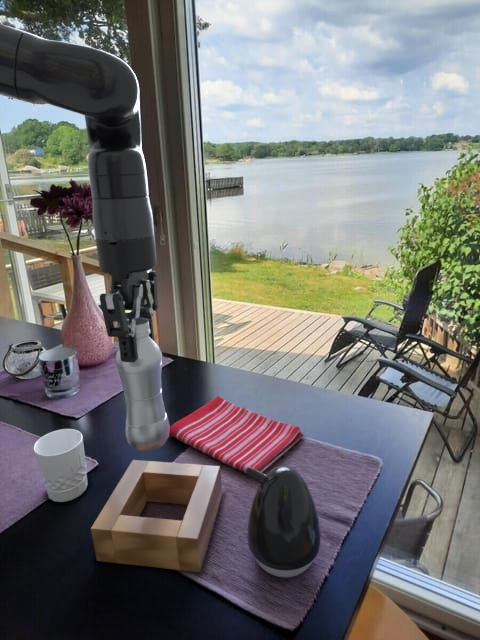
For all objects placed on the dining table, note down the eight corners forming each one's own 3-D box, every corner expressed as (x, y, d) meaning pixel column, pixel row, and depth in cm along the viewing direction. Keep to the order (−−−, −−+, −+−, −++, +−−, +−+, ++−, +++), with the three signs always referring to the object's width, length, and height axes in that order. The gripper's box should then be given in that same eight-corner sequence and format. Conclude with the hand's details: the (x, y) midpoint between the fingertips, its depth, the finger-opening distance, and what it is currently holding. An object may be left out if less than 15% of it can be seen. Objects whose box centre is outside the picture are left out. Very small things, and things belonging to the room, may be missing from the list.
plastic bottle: (178, 446, 67) (167, 322, 61) (136, 462, 64) (119, 333, 57) (160, 427, 72) (149, 311, 66) (120, 441, 69) (104, 320, 62)
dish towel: (219, 403, 105) (218, 393, 105) (304, 436, 91) (305, 425, 90) (165, 437, 93) (164, 426, 92) (255, 481, 79) (254, 469, 78)
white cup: (70, 509, 74) (60, 459, 71) (34, 499, 77) (22, 450, 73) (100, 479, 81) (92, 432, 78) (65, 471, 84) (56, 425, 80)
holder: (96, 561, 64) (90, 528, 62) (136, 487, 78) (132, 459, 76) (200, 572, 61) (197, 539, 59) (222, 495, 76) (220, 465, 74)
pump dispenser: (261, 523, 69) (259, 441, 65) (326, 542, 66) (329, 456, 61) (235, 576, 61) (231, 486, 56) (309, 601, 57) (311, 506, 52)
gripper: (120, 226, 65) (133, 333, 70) (69, 242, 51) (90, 372, 57) (169, 225, 64) (178, 334, 69) (130, 241, 50) (145, 375, 56)
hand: (138, 351), depth 63 cm, fingers closed on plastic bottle, 6 cm apart
